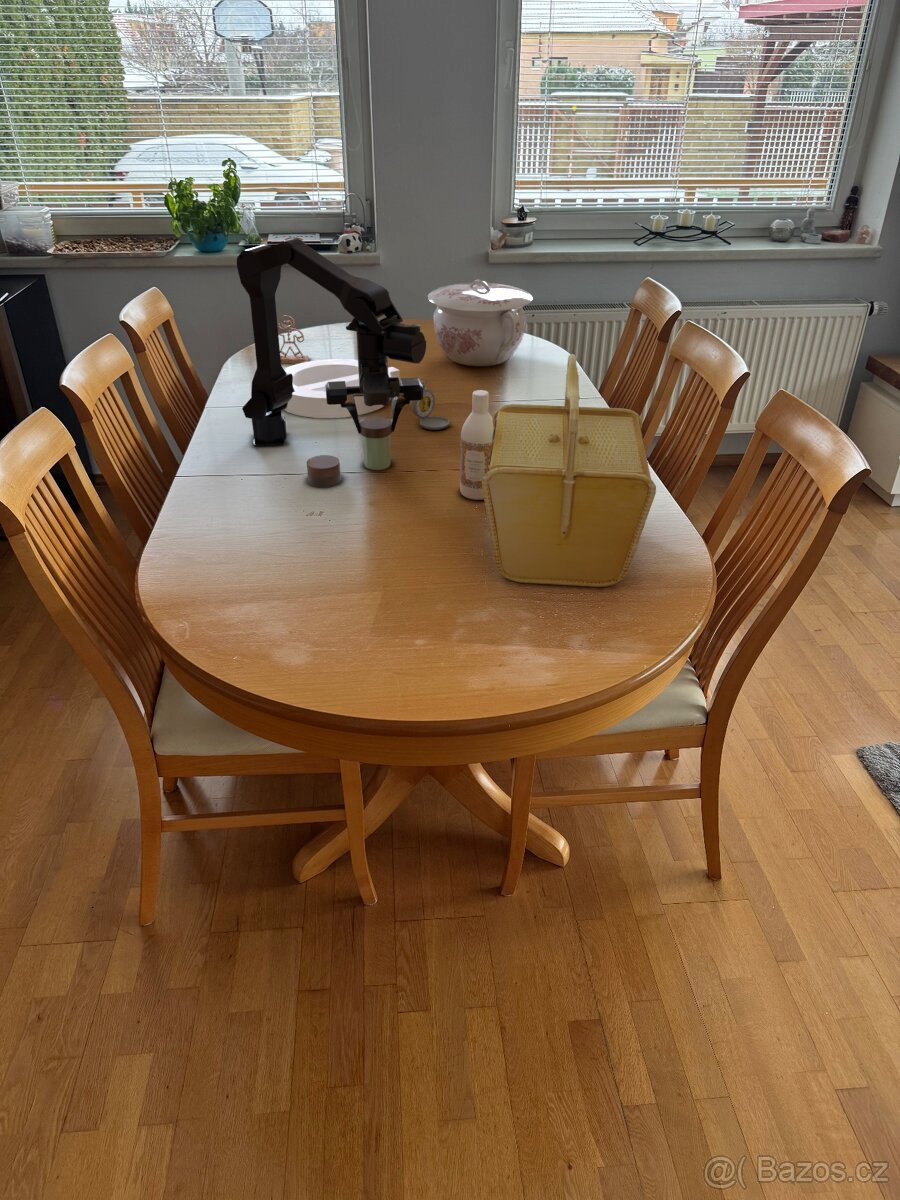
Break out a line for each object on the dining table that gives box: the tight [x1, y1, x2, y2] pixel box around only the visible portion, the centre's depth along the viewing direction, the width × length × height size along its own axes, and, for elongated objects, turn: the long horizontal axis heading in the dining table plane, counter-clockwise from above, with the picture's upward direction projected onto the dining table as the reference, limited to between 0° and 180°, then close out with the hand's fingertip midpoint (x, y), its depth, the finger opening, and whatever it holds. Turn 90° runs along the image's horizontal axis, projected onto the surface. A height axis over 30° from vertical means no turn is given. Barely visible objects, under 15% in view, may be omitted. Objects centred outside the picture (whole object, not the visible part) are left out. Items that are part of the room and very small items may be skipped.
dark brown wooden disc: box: [359, 416, 393, 438], centre depth 176 cm, size 6×6×2 cm
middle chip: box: [306, 454, 341, 478], centre depth 172 cm, size 6×6×2 cm
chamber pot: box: [427, 279, 534, 368], centre depth 232 cm, size 28×28×21 cm
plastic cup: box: [362, 435, 391, 471], centre depth 178 cm, size 5×5×7 cm
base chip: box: [307, 471, 342, 488], centre depth 173 cm, size 6×6×2 cm
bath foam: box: [459, 389, 494, 501], centre depth 164 cm, size 7×7×20 cm
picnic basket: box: [482, 353, 657, 588], centre depth 143 cm, size 29×26×30 cm
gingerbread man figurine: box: [277, 314, 310, 365], centre depth 232 cm, size 9×4×12 cm, turn 85°
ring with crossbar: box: [282, 358, 401, 419], centre depth 212 cm, size 28×28×5 cm
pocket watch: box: [411, 377, 450, 431], centre depth 196 cm, size 8×8×10 cm
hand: (375, 432), depth 176 cm, fingers closed on dark brown wooden disc, 6 cm apart
